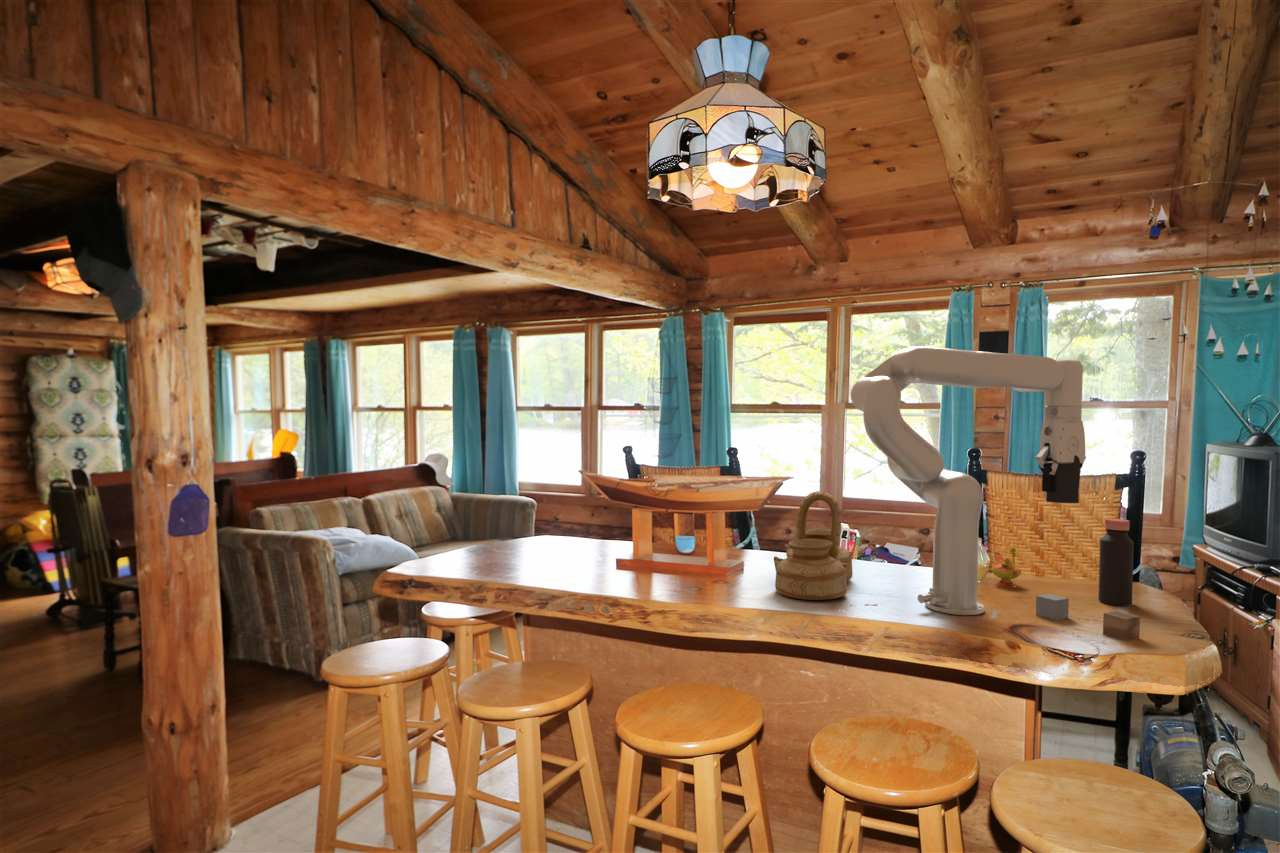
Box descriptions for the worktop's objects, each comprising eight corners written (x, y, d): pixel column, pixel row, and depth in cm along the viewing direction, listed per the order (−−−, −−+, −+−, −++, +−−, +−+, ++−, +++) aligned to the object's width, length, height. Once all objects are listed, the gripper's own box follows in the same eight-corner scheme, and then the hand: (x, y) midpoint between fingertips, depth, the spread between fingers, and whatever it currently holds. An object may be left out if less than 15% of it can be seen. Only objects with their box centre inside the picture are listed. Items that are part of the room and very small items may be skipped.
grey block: (1055, 620, 158) (1055, 600, 158) (1036, 615, 162) (1036, 595, 162) (1068, 618, 160) (1068, 598, 160) (1049, 613, 164) (1049, 593, 164)
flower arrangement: (1008, 576, 199) (1009, 537, 199) (1028, 592, 181) (1029, 549, 181) (981, 575, 201) (982, 535, 200) (999, 591, 183) (1000, 548, 183)
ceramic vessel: (787, 570, 206) (788, 483, 205) (854, 575, 199) (855, 486, 199) (767, 600, 173) (768, 496, 173) (846, 607, 167) (848, 500, 167)
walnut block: (1125, 641, 144) (1126, 619, 144) (1102, 634, 148) (1103, 613, 148) (1139, 638, 146) (1140, 616, 146) (1116, 632, 150) (1117, 610, 150)
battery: (1075, 502, 167) (1077, 453, 167) (1080, 504, 163) (1081, 453, 163) (1041, 500, 169) (1043, 452, 169) (1045, 502, 165) (1046, 453, 165)
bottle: (1115, 598, 177) (1117, 517, 176) (1139, 606, 170) (1141, 521, 169) (1091, 599, 175) (1093, 518, 175) (1114, 607, 169) (1116, 522, 168)
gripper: (1052, 414, 159) (1050, 494, 159) (1102, 414, 166) (1100, 491, 166) (1022, 413, 165) (1019, 490, 166) (1071, 414, 173) (1069, 488, 173)
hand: (1060, 490), depth 166 cm, fingers closed on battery, 6 cm apart
